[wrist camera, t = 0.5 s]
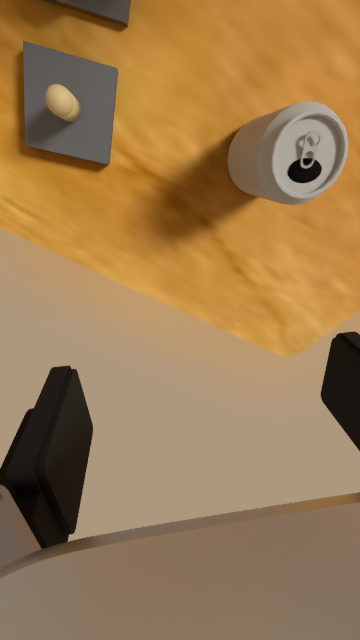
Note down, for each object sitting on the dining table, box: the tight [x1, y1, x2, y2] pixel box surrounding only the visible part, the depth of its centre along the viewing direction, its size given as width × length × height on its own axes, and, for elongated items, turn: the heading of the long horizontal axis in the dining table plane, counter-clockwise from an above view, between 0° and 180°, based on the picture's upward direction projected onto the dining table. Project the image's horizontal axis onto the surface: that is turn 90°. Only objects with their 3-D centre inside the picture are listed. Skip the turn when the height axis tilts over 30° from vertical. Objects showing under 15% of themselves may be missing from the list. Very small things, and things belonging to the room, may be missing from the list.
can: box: [227, 101, 348, 205], centre depth 28 cm, size 8×8×12 cm
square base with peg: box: [23, 41, 118, 164], centre depth 27 cm, size 8×8×6 cm
